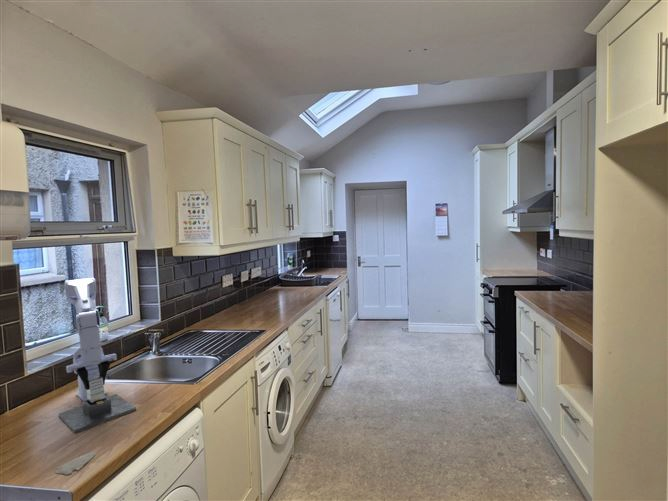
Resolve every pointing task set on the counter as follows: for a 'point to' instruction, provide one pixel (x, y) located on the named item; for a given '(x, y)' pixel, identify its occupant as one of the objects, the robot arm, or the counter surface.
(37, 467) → the counter surface
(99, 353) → the robot arm
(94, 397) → the column
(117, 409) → the stand base
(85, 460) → the arrowhead
